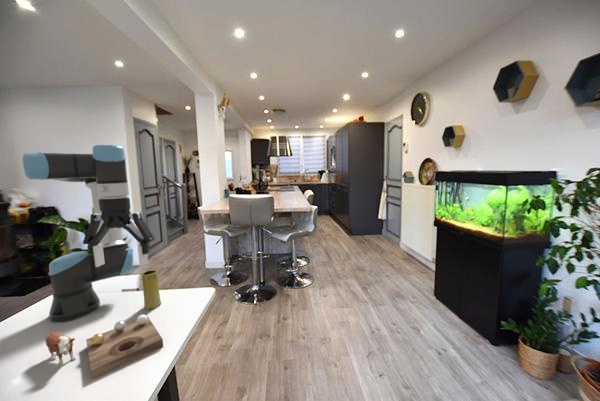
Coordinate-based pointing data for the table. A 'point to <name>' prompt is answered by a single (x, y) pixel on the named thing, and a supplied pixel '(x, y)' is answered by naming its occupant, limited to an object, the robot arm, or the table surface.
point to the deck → (123, 347)
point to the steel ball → (119, 326)
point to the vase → (151, 289)
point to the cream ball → (141, 319)
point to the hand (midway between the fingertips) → (122, 264)
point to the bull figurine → (59, 345)
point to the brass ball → (97, 339)
